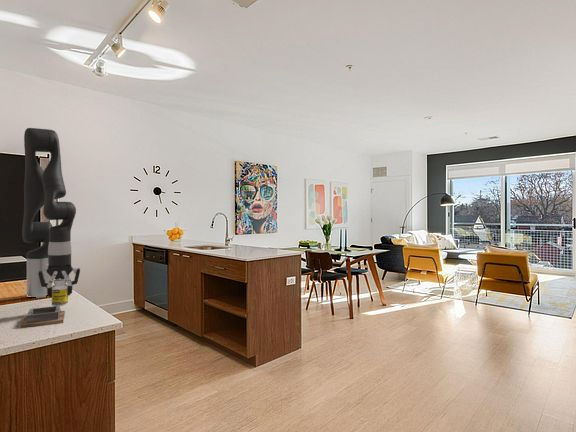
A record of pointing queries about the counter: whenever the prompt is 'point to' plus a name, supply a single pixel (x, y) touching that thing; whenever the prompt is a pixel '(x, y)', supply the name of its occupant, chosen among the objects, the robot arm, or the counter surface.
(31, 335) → the counter surface
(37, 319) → the socket base
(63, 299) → the supplement bottle
